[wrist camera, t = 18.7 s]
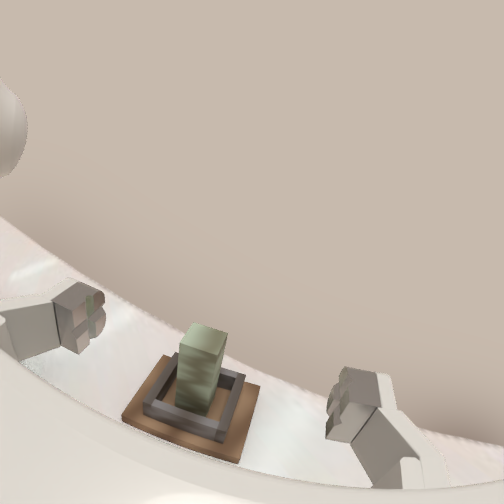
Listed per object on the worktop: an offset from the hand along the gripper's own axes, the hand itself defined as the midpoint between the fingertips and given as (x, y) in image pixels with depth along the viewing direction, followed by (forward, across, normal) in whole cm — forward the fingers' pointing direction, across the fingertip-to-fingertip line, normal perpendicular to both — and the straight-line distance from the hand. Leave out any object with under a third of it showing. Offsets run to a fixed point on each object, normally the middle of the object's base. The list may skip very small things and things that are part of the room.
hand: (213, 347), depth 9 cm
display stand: (+20, +5, +30) cm, 36 cm away
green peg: (+20, +5, +28) cm, 35 cm away
